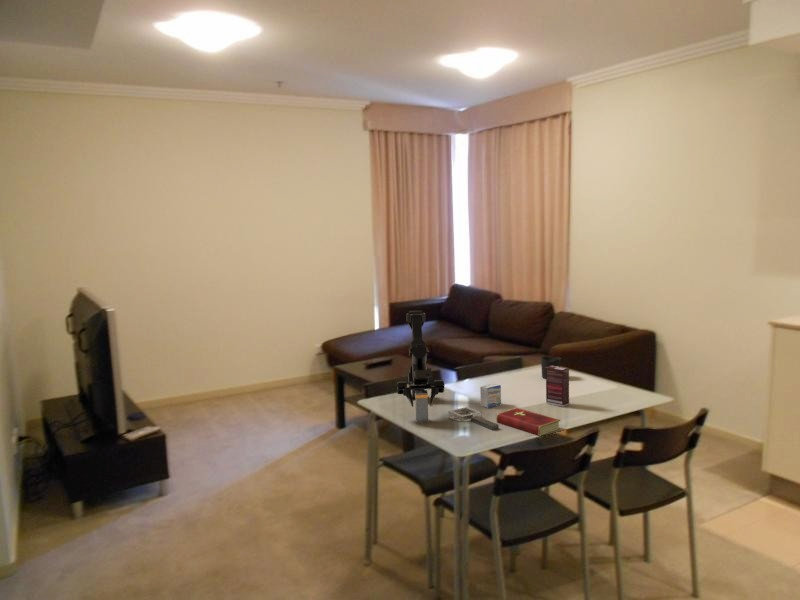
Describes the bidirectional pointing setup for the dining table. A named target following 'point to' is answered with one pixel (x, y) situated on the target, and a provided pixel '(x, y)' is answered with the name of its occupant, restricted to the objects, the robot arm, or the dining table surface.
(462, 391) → the dining table surface
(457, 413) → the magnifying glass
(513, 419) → the hardcover book
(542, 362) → the pen holder
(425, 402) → the grey orange-banded block
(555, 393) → the supplement box
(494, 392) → the medicine box
